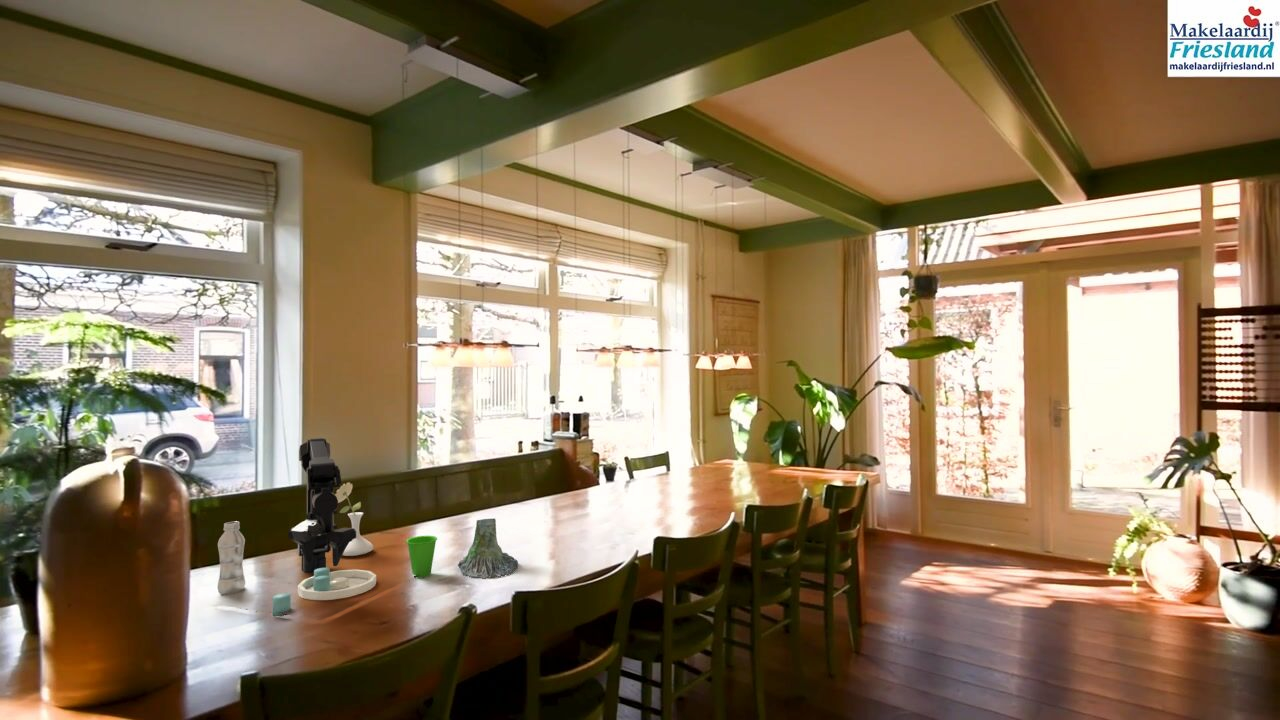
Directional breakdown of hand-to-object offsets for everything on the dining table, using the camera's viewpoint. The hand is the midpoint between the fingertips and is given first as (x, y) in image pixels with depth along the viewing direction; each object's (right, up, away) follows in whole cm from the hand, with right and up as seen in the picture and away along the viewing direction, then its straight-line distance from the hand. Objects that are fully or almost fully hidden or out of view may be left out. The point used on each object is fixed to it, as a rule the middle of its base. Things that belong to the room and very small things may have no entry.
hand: (322, 564), depth 176 cm
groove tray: (+2, -9, +6) cm, 11 cm away
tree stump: (+40, -10, +26) cm, 48 cm away
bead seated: (-4, -8, +7) cm, 12 cm away
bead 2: (0, -8, 0) cm, 8 cm away
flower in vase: (-10, -10, +42) cm, 45 cm away
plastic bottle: (-27, -10, +4) cm, 29 cm away
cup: (+21, -10, +19) cm, 30 cm away
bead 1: (-5, -9, -11) cm, 15 cm away
